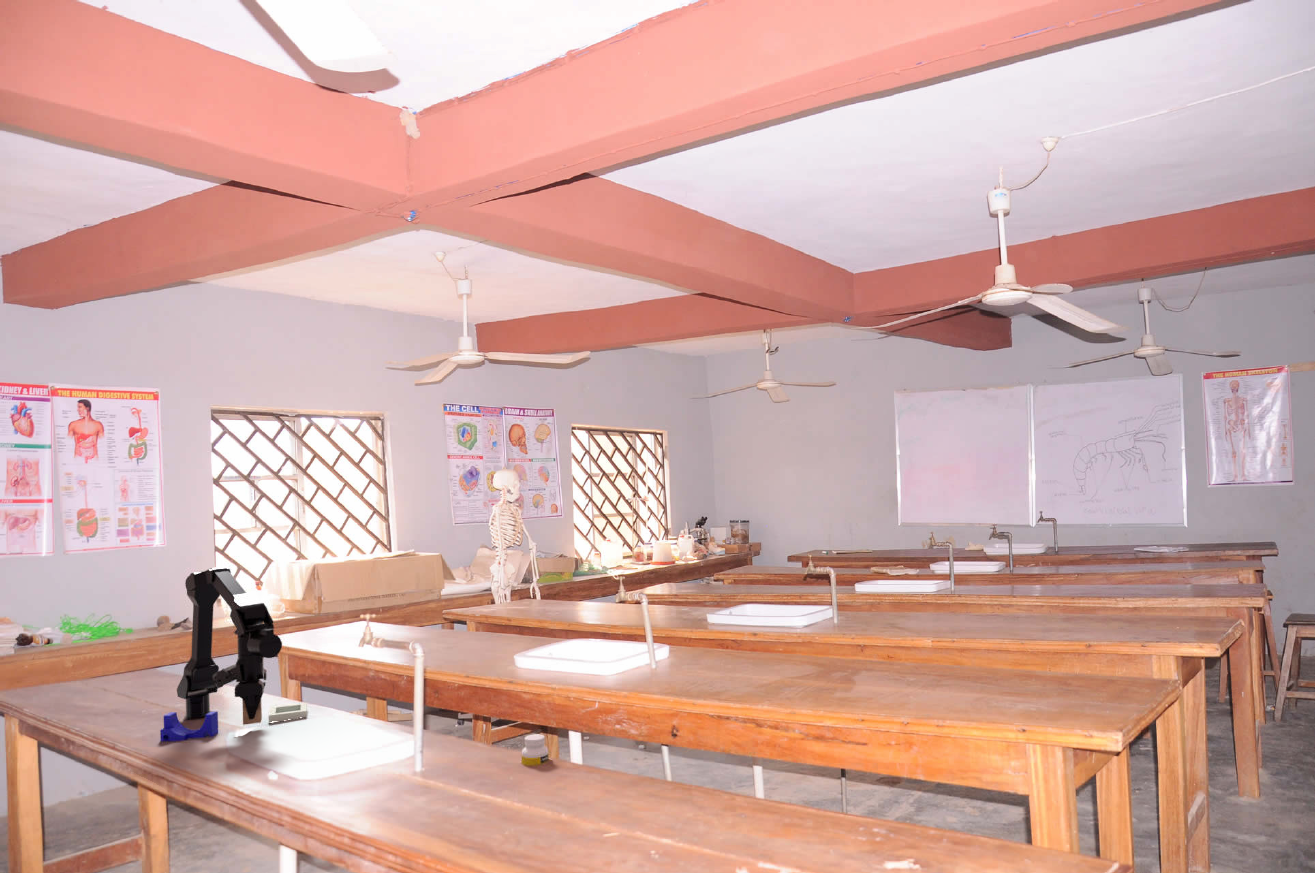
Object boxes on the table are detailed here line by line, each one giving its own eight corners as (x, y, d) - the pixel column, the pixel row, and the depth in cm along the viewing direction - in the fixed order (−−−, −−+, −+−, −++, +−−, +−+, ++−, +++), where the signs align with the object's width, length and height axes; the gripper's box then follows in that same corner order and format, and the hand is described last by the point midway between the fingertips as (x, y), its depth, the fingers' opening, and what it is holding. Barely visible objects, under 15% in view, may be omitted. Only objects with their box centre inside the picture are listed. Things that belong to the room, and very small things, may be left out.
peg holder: (270, 718, 238) (270, 706, 238) (307, 713, 241) (306, 702, 241) (268, 727, 230) (268, 715, 230) (306, 722, 233) (306, 710, 233)
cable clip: (160, 741, 221) (160, 717, 221) (171, 736, 226) (170, 712, 226) (208, 740, 221) (208, 716, 221) (218, 735, 225) (217, 711, 225)
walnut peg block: (244, 720, 225) (243, 692, 226) (261, 718, 227) (261, 690, 227) (243, 724, 222) (242, 695, 222) (260, 722, 223) (260, 693, 223)
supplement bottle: (544, 791, 178) (542, 741, 178) (518, 790, 179) (516, 740, 179) (553, 781, 183) (551, 733, 184) (527, 780, 185) (526, 732, 185)
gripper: (218, 649, 231) (219, 711, 230) (210, 664, 213) (212, 731, 213) (266, 645, 234) (267, 705, 234) (261, 659, 217) (263, 724, 217)
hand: (252, 716), depth 224 cm, fingers closed on walnut peg block, 4 cm apart
